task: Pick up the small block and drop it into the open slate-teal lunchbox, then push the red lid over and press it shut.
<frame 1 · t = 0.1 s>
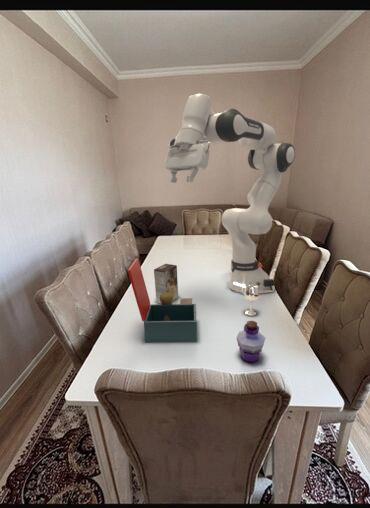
hand: (181, 182, 89), 52 cm above the table, tool tilted 20°, fingers open, 8 cm apart
potion bottle: (249, 357, 77), on the table
lunchbox: (172, 331, 91), on the table
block: (186, 311, 104), on the table
lid: (140, 288, 86), point 17 cm above the table, hinge at 100.0°
coffee box: (167, 300, 115), on the table
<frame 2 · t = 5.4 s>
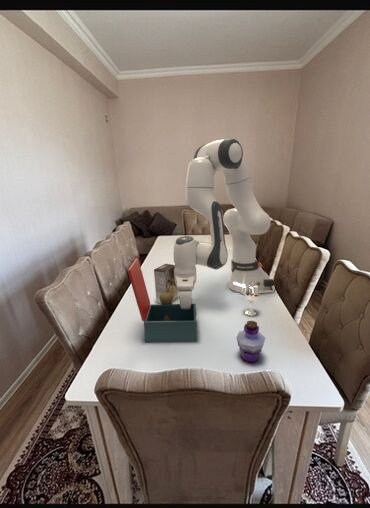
hand: (186, 308, 104), 2 cm above the table, tool pointing down, fingers closed on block, 5 cm apart
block: (186, 311, 104), on the table, touching gripper
everything else where it was.
when the fingers open (11 cm above the table, at t = 10.5 s): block drops 9 cm, resting on lunchbox.
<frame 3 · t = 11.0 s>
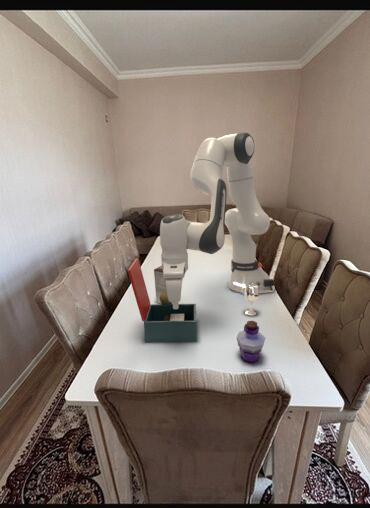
hand: (176, 301, 88), 12 cm above the table, tool pointing down, fingers open, 8 cm apart
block: (177, 329, 91), point 1 cm above the table, touching lunchbox
everything else where it was.
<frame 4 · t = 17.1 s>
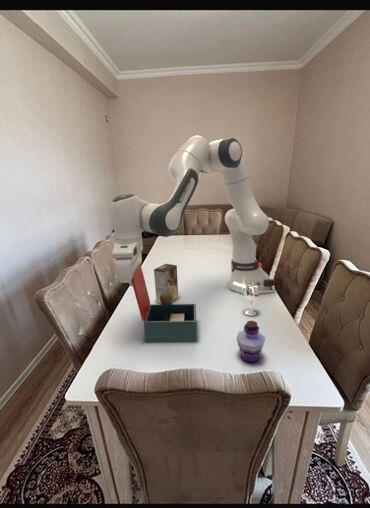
hand: (132, 284, 86), 19 cm above the table, tool pointing down, fingers closed, pressing on lid
lid: (140, 288, 86), point 17 cm above the table, hinge at 98.8°, touching gripper
everything else where it was.
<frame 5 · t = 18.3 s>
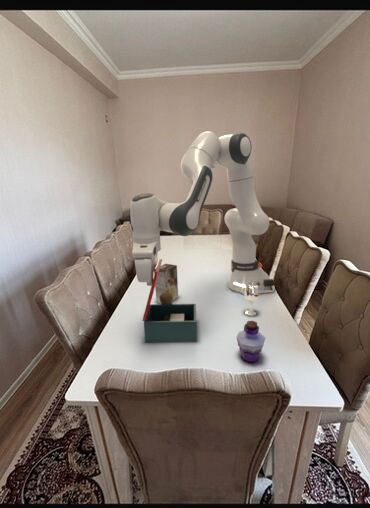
hand: (150, 284, 86), 19 cm above the table, tool pointing down, fingers closed, pressing on lid
lid: (152, 289, 86), point 17 cm above the table, hinge at 72.6°, touching gripper
everything else where it was.
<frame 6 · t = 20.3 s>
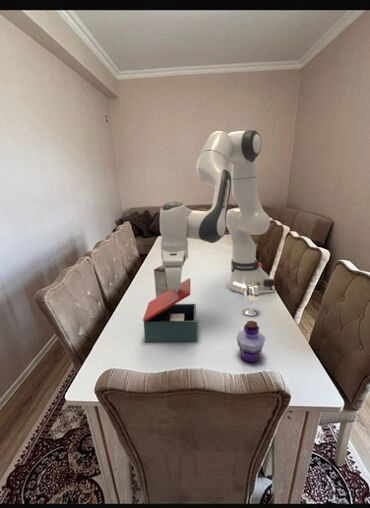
hand: (176, 291, 86), 16 cm above the table, tool pointing down, fingers closed
lid: (167, 299, 87), point 13 cm above the table, hinge at 31.9°, touching gripper
everything else where it was.
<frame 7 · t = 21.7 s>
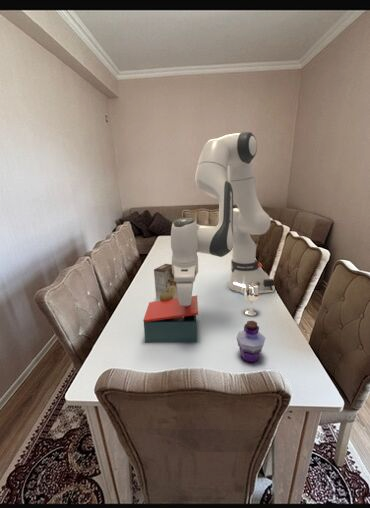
hand: (186, 304, 88), 11 cm above the table, tool pointing down, fingers closed
lid: (171, 308, 88), point 10 cm above the table, hinge at 8.1°, touching gripper
everything else where it was.
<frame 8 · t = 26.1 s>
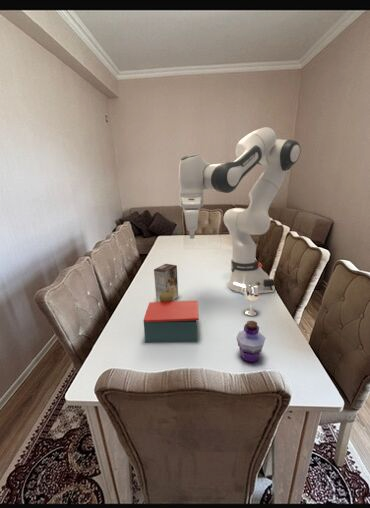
hand: (192, 237, 97), 31 cm above the table, tool pointing down, fingers closed
lid: (172, 310, 89), point 9 cm above the table, hinge at 1.6°
everything else where it was.
at the end: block inside the target area in the lunchbox (2.0 cm from its centre), point 0.8 cm above the lunchbox's base; lid at +2° (first picture: +100°) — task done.
